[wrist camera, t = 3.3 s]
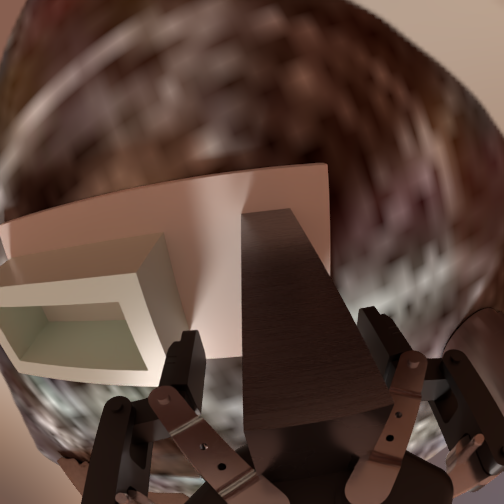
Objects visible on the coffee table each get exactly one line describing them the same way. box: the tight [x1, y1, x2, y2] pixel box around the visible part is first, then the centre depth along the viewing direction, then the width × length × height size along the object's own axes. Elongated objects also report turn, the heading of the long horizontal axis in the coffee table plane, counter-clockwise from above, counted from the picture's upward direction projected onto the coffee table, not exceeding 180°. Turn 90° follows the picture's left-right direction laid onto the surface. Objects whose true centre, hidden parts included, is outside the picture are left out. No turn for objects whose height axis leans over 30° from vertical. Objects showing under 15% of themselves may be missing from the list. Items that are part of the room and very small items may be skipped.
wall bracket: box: [57, 457, 189, 504], centre depth 35 cm, size 22×4×30 cm
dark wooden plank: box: [241, 208, 395, 483], centre depth 13 cm, size 9×3×14 cm, turn 6°
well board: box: [0, 163, 330, 387], centre depth 17 cm, size 26×14×6 cm, turn 96°
